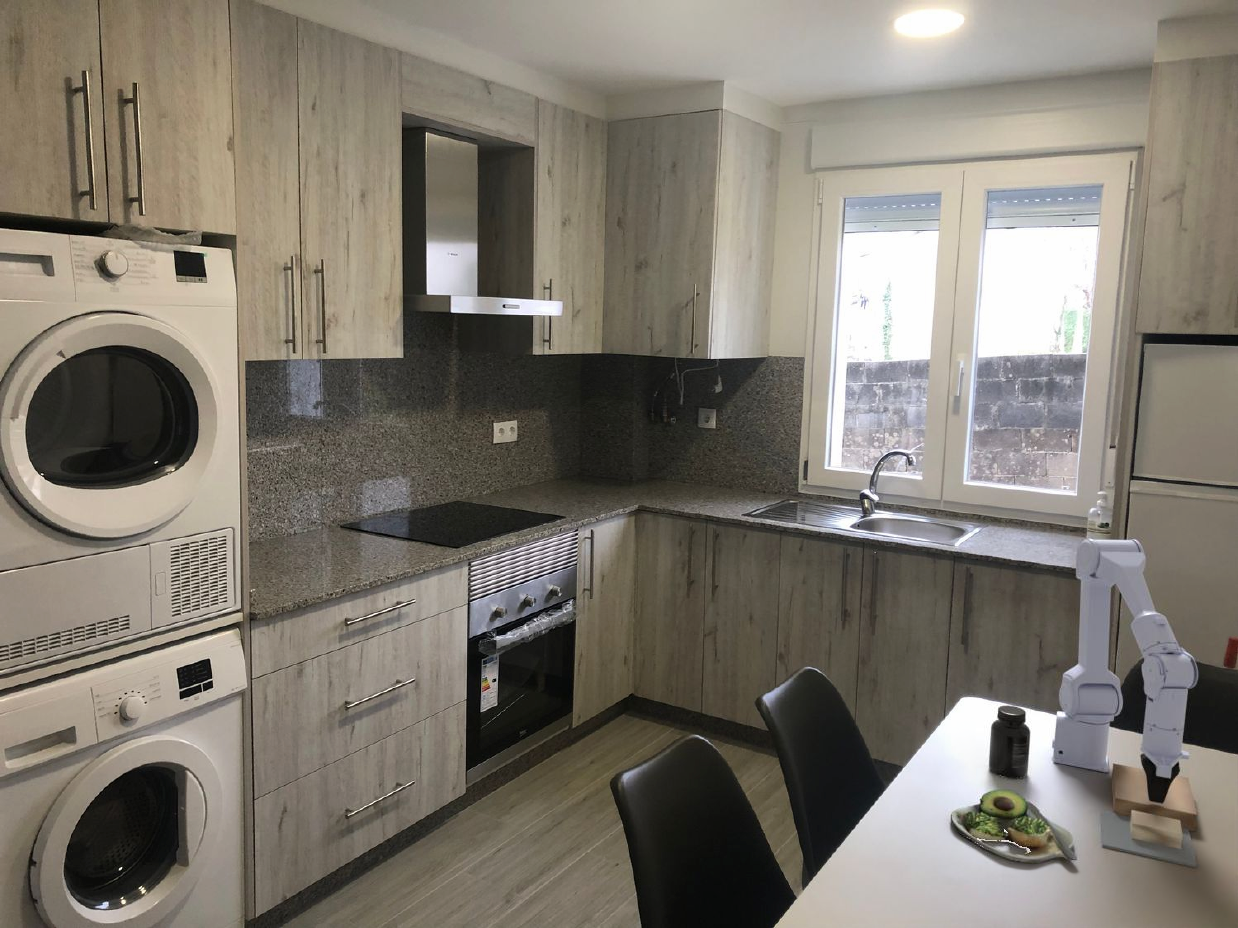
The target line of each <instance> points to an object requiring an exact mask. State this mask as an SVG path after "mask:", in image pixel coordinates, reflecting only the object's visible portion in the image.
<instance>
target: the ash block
mask: <svg viewBox="0 0 1238 928" xmlns="http://www.w3.org/2000/svg"><path fill="white" fill-rule="evenodd" d="M1130 829H1131V838H1134V839H1139V840H1143V841H1147V842H1152V843H1156V844H1161V845H1165V846H1170V847H1174V848H1179V849H1181V843H1182V829H1181V823H1180V820H1177V819H1172V818H1167V817H1162V816H1158V815H1153V814H1148V813H1144V812H1139V811H1134V810H1132V811H1131V821H1130Z"/></svg>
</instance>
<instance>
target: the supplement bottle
mask: <svg viewBox="0 0 1238 928" xmlns="http://www.w3.org/2000/svg"><path fill="white" fill-rule="evenodd" d="M1026 713H1027V712H1026V710H1024V709H1023V708H1021V707H1019V706H1014V705H1013V706H1012V705H1001V706H999V707H998V708H997V713H996V714H997V715H996V716H997V717H996V720H994V721H993V722H992V723H991V727H990V737H989V738H990V739H989V757H988V768H989V770H990V771H991V772H992V771H993V772H994V774H995V773H996V774H995V775H997V776H999V775H1001V776H1000V777H1002V776H1003V777H1002V778H1006V777H1007V779H1014V780H1015V779H1022V778H1024V777H1026V776H1027V774H1028V771H1029V758H1030V746H1031V745H1030V744H1031V729H1030V728H1029V726H1028V725H1027V724H1026V722H1027V717H1026V715H1027V714H1026ZM993 772H992V773H993Z"/></svg>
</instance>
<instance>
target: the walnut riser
mask: <svg viewBox="0 0 1238 928" xmlns="http://www.w3.org/2000/svg"><path fill="white" fill-rule="evenodd" d="M1111 770H1112V772H1111V789H1112V790H1111V791H1112V805H1113V806H1112V807H1113V813H1116V814H1121V815H1125V816H1130V817H1131V811H1132V810H1134V811H1139V812H1144V813H1148V814H1153V815H1158V816H1162V817H1167V818H1172V819H1177V820H1180V823H1181V827H1182V828H1187V829H1189V832H1196V828H1197V819H1198V813H1197V812H1198V811H1197V809H1196V805H1195V800H1194V795H1193V792H1192V788H1191V783H1190V780H1189V777H1186V776H1182V775H1177V776H1176V777H1175V779H1174V780H1173V782H1172V783H1171V785H1170V787H1169V790H1168V793H1167V796H1166V798H1165V801H1164V803H1163V804H1161V803H1156V802H1151V801H1149V797H1148V790H1147V778H1146V774H1145V771H1144V769H1143V768H1140V767H1134V766H1129V765H1123V764H1120V763H1119V764H1118V763H1112V769H1111Z"/></svg>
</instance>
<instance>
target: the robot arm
mask: <svg viewBox="0 0 1238 928" xmlns="http://www.w3.org/2000/svg"><path fill="white" fill-rule="evenodd" d="M1146 560H1147V558H1146V554H1145V551H1144V548H1143V546H1142V544H1141V543H1140V541H1139V540H1137V539H1092V538H1085V539H1083V540H1082V541H1081V543H1080V544H1079V545H1078V546H1077V547H1076V559H1075V578H1077V579H1078V580H1080V601H1079V603H1080V604H1079V607H1080V608H1079V628H1078V629H1079V631H1078V632H1079V633H1078V635H1079V636H1078V661H1077V662H1078V663H1077V664H1076V665H1075V666H1073V667H1072V668H1070V669H1068V670H1067V671H1065V672H1064V673H1063V674H1062V681H1061V685H1060V688H1059V691H1058V701H1059V705H1060V708H1061V710H1062V711H1059V710H1058V711H1056V719H1055V729H1054V730H1055V731H1054V738H1052V744H1051V748H1052V749H1053V753H1052V754H1053V755H1052V762H1053V763H1057V764H1061V765H1066V766H1071V767H1077V768H1082V769H1088V770H1092V771H1099V772H1102V773H1108V772H1109V756H1108V744H1109V742H1108V741H1109V733H1110V725H1111V724H1110V722H1114V721H1115V720H1114V719H1115V717H1117V716H1118V715H1120V713H1121V711H1122V709H1123V704H1124V699H1123V694H1122V690H1121V689H1122V688H1121V679H1120V678H1119V677H1118V676H1117V675H1116V674H1115V673H1113V672H1112V671H1111V670H1109V651H1110V648H1109V647H1110V626H1111V624H1110V623H1111V621H1110V620H1111V596H1112V595H1111V594H1112V591H1111V590H1112V587H1113V586H1114V585H1116V586H1117V590H1119V592H1120V594H1121V596H1122V598H1123V601H1125V604H1126V605H1127V607H1128V609H1129V611H1130V613H1131V615H1132V616H1133V620H1132V622H1131V624H1130V629H1131V631H1132V634H1133V636H1134V638H1135V641H1136V643H1137V646H1138V648H1139V650H1140V653H1141V656H1142V657H1143V659H1144V660H1143V663H1142V664H1141V674H1142V679H1143V683H1144V684H1143V691H1144V694H1145V696H1146V700H1145V701H1146V702H1145V703H1146V704H1145V712H1144V721H1143V730H1142V731H1143V733H1142V742H1141V743H1140V748H1139V750H1140V751H1141V752H1142V753H1141V754H1139V756H1140V762H1141V766H1142V769H1144V771H1145V774H1146V778H1147V790H1148V797H1149V801H1151V802H1156V803H1161V804H1163V803H1164V801H1165V798H1166V796H1167V793H1168V790H1169V787H1170V785H1171V783H1172V782H1173V780H1174V779H1175V777H1176V776H1179V774H1180V772H1181V767H1180V762H1179V761H1181V760H1189V759H1190V753H1189V751H1187V750H1182V748H1183V736H1184V730H1185V723H1186V722H1185V720H1186V711H1187V704H1188V703H1187V701H1188V694H1189V692H1188V691H1189V689H1193V688H1194V687H1195V686H1196V685H1197V684H1198V683H1197V682H1198V681H1199V680H1198V679H1199V670H1198V665H1197V662H1196V659H1195V658H1194V657H1193V655H1192V654H1190V653H1188V651H1186V649H1185V648H1183V647H1181V646H1180V645H1179V643H1178V640H1177V639H1176V636H1175V634H1174V632H1173V630H1172V627H1171V625H1170V623H1169V621H1168V619H1167V617H1166V616H1165V615H1163V614H1161V613H1159V612H1157V611H1156V608H1155V606H1154V603H1153V600H1152V597H1151V594H1150V591H1149V588H1148V584H1147V581H1146V579H1145V576H1144V574H1143V573H1144V571H1145V569H1146V563H1147V561H1146Z"/></svg>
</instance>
